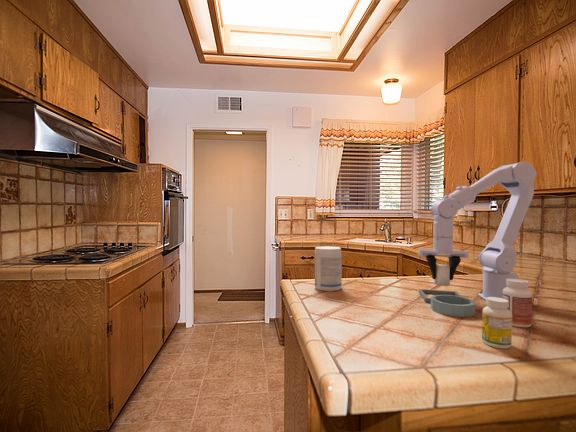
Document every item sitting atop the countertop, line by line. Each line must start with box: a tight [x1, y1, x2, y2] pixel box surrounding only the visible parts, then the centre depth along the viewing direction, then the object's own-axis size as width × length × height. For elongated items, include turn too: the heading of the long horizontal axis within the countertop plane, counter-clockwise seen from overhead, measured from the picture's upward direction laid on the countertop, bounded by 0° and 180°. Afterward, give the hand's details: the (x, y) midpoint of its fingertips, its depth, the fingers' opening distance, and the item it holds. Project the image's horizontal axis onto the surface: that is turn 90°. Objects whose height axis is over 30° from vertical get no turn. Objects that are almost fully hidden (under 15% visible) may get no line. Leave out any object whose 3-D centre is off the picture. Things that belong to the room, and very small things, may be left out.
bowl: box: [429, 294, 477, 318], centre depth 91 cm, size 11×11×3 cm
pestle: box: [434, 263, 451, 287], centre depth 103 cm, size 4×4×6 cm
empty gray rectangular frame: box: [418, 288, 464, 304], centre depth 104 cm, size 12×12×1 cm
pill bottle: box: [502, 278, 533, 328], centre depth 81 cm, size 6×6×11 cm
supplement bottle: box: [481, 297, 513, 349], centre depth 69 cm, size 5×5×10 cm
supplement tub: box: [314, 245, 343, 292], centre depth 115 cm, size 10×10×15 cm
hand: (442, 279), depth 103 cm, fingers closed on pestle, 4 cm apart
